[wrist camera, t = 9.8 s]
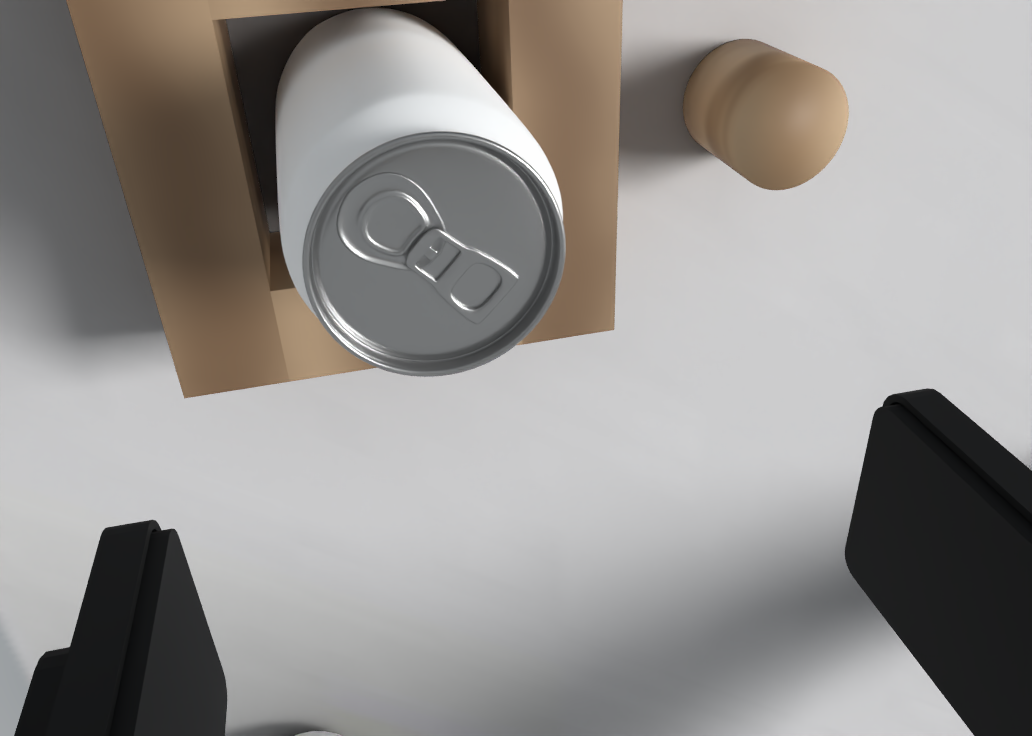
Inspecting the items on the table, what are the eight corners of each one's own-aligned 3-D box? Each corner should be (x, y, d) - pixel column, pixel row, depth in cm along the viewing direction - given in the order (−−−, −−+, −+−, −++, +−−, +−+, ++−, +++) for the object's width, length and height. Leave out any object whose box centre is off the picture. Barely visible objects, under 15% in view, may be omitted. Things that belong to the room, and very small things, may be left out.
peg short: (793, 33, 30) (858, 58, 27) (779, 145, 32) (837, 181, 29) (686, 44, 30) (739, 72, 26) (679, 158, 32) (727, 197, 28)
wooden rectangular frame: (574, -156, 26) (626, -153, 22) (574, 273, 33) (614, 329, 29) (68, -129, 23) (30, -120, 19) (194, 328, 31) (184, 398, 27)
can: (358, -44, 26) (416, 37, 16) (514, 95, 29) (643, 235, 19) (232, 126, 27) (214, 297, 17) (394, 240, 31) (456, 437, 21)
